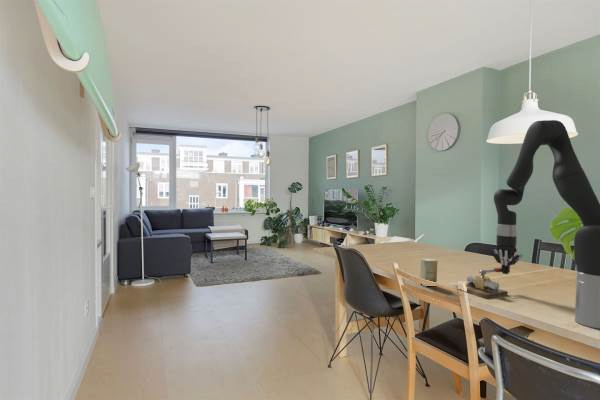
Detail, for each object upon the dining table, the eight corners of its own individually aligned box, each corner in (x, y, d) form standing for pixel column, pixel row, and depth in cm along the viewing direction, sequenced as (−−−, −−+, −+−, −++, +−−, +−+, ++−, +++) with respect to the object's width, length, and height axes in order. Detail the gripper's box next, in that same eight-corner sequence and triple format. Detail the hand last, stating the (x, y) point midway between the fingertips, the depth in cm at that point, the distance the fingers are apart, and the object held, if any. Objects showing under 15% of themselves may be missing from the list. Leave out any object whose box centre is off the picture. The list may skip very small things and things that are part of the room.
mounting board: (507, 294, 143) (507, 291, 143) (485, 298, 137) (485, 294, 137) (478, 286, 156) (478, 282, 155) (456, 289, 150) (456, 285, 150)
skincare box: (425, 287, 152) (426, 260, 152) (419, 284, 156) (420, 258, 156) (437, 286, 154) (438, 260, 153) (431, 283, 158) (431, 258, 157)
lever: (483, 274, 143) (483, 271, 143) (477, 273, 145) (477, 269, 145) (505, 271, 149) (505, 268, 149) (499, 270, 152) (499, 267, 151)
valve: (499, 293, 140) (500, 277, 140) (492, 294, 138) (493, 278, 138) (472, 285, 152) (473, 270, 152) (465, 285, 150) (466, 270, 150)
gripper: (527, 236, 142) (526, 276, 143) (497, 232, 154) (496, 269, 155) (516, 236, 139) (515, 278, 139) (486, 233, 151) (485, 271, 151)
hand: (505, 273), depth 147 cm, fingers closed
